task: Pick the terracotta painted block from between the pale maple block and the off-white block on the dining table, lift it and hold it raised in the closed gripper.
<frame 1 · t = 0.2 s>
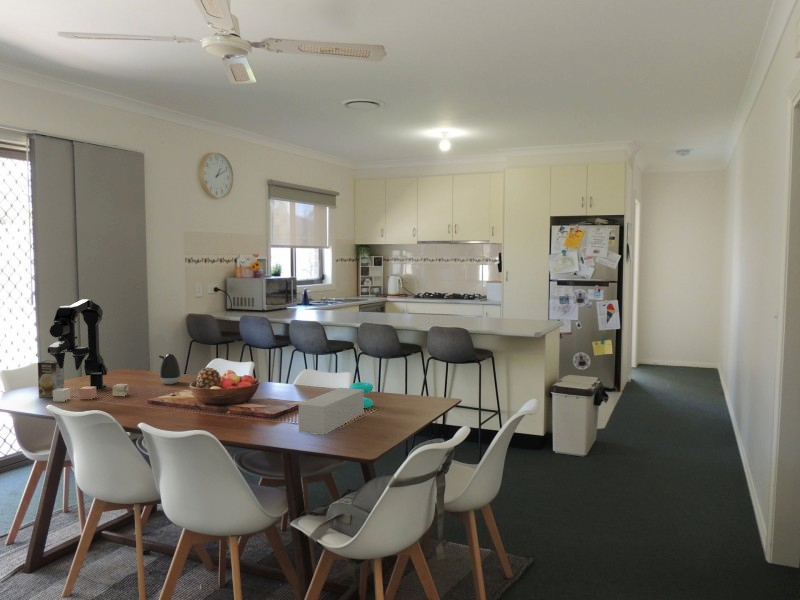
hand: (69, 369, 283), 14 cm above the table, tool pointing down, fingers open, 9 cm apart
offwhite block: (61, 400, 283), on the table
coffee box: (51, 396, 291), on the table
pump dispenser: (170, 383, 321), on the table
donuts: (361, 407, 272), on the table
maple block: (120, 395, 293), on the table
terracotta block: (88, 398, 287), on the table
stack of papers: (332, 424, 245), on the table
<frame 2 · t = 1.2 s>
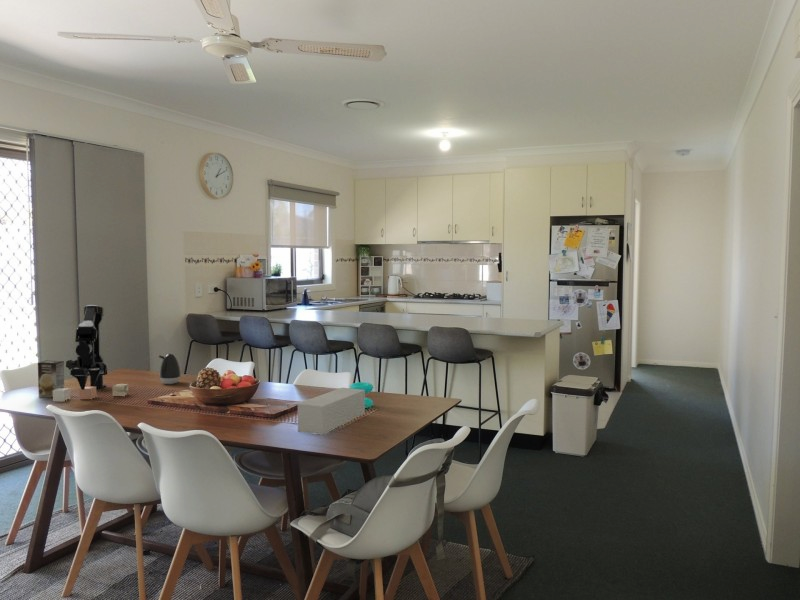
hand: (88, 387, 287), 5 cm above the table, tool pointing down, fingers open, 9 cm apart
nothing on the table moved.
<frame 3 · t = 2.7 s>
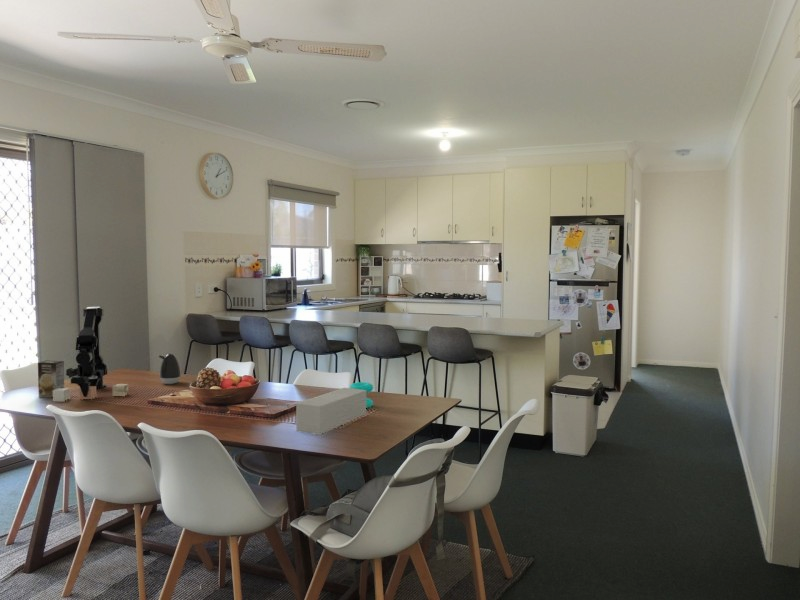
hand: (88, 395, 287), 1 cm above the table, tool pointing down, fingers closed on terracotta block, 5 cm apart
terracotta block: (88, 398, 287), on the table, touching gripper
everything else where it was.
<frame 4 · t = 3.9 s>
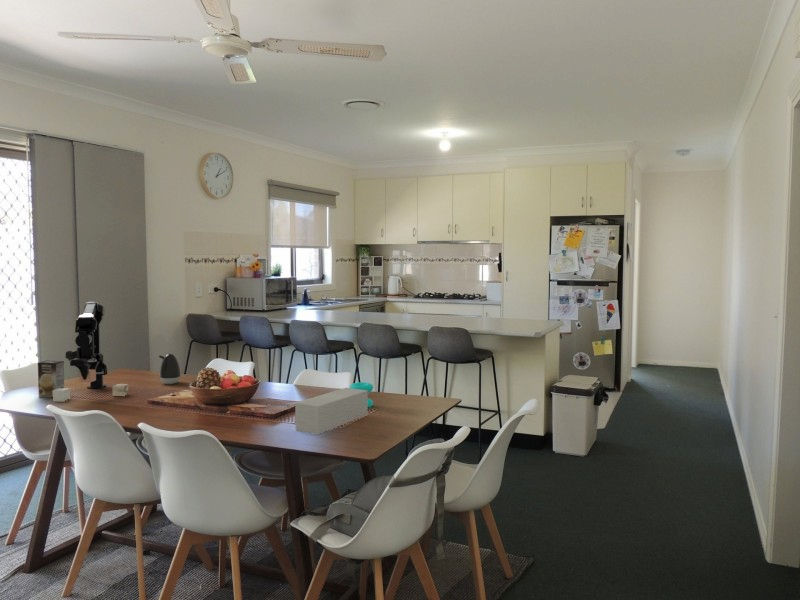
hand: (87, 378, 286), 9 cm above the table, tool pointing down, fingers closed on terracotta block, 5 cm apart
terracotta block: (87, 381, 286), point 8 cm above the table, touching gripper
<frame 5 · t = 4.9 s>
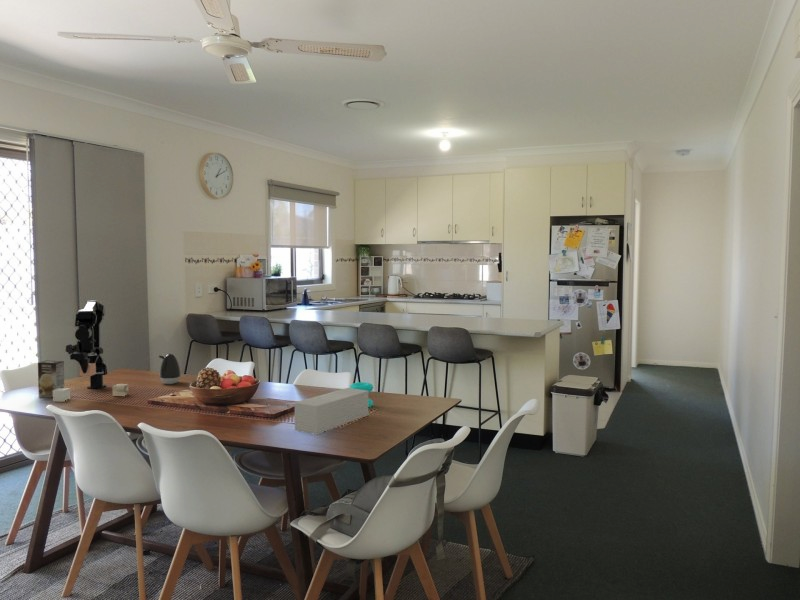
hand: (87, 372, 288), 12 cm above the table, tool pointing down, fingers closed on terracotta block, 5 cm apart
terracotta block: (87, 374, 288), point 10 cm above the table, touching gripper
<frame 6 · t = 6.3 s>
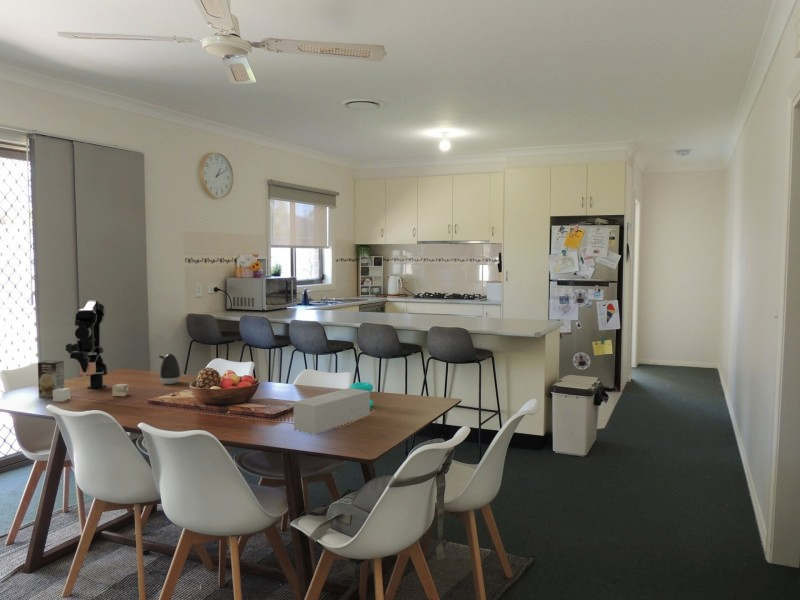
hand: (87, 371, 288), 12 cm above the table, tool pointing down, fingers closed on terracotta block, 5 cm apart
terracotta block: (87, 373, 288), point 11 cm above the table, touching gripper
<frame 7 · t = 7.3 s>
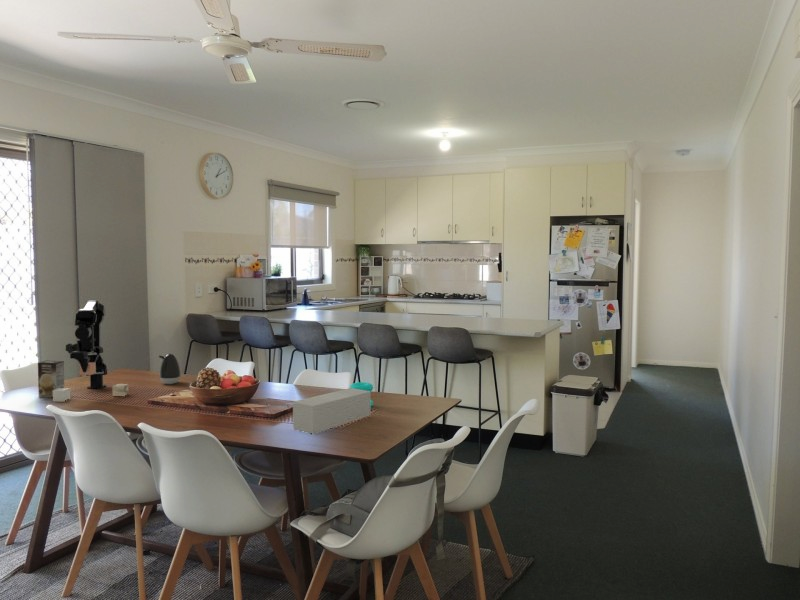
hand: (87, 371, 288), 12 cm above the table, tool pointing down, fingers closed on terracotta block, 5 cm apart
terracotta block: (87, 373, 288), point 11 cm above the table, touching gripper
at the end: terracotta block point 10.7 cm above the table; maple block moved 0.1 cm from its start; offwhite block moved 0.1 cm from its start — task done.
